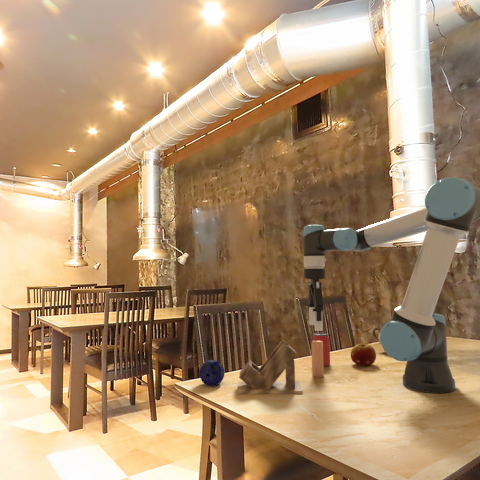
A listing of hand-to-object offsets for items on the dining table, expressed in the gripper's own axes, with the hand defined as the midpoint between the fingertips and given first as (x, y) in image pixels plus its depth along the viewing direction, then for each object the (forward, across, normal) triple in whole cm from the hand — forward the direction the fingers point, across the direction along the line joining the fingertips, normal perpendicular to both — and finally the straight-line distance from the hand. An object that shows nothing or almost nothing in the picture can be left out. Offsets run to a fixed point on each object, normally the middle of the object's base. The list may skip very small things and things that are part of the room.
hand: (315, 327), depth 144 cm
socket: (+18, -15, +17) cm, 30 cm away
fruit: (+17, +16, -20) cm, 31 cm away
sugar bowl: (+17, +40, -41) cm, 60 cm away
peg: (+17, 0, 0) cm, 17 cm away
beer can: (+17, +17, -4) cm, 25 cm away
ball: (+17, -10, +36) cm, 41 cm away
